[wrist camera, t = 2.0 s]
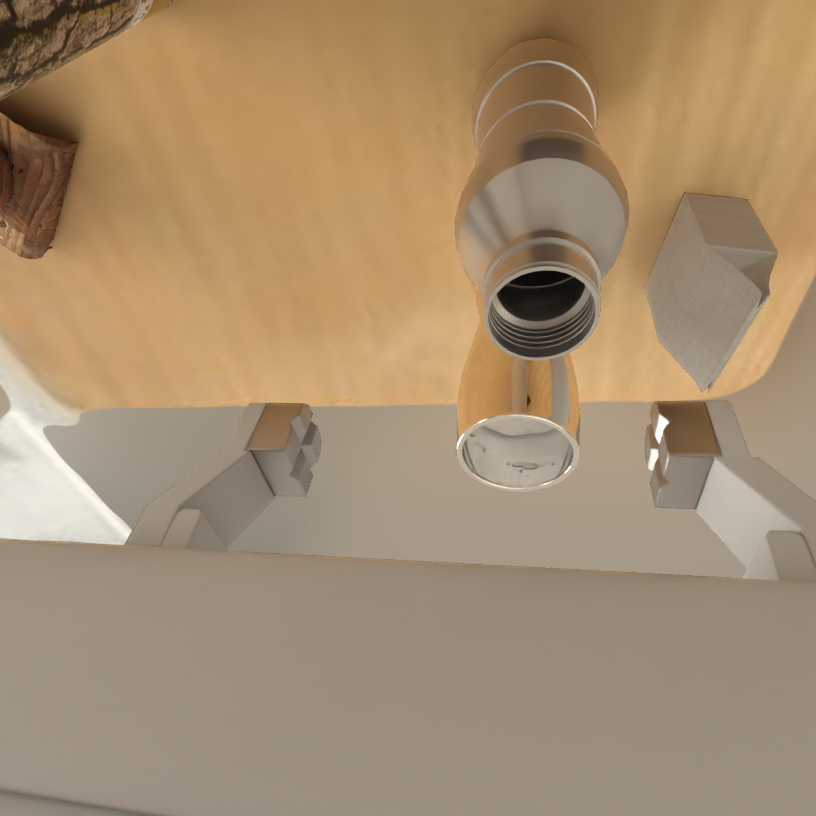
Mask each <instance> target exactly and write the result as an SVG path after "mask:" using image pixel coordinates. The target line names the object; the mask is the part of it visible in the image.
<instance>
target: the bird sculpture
mask: <svg viewBox="0 0 816 816" xmlns="http://www.w3.org/2000/svg"><path fill="white" fill-rule="evenodd" d="M78 144H79V142H72V141H63V140H59V139H55V138H51V137H48V136H44V135H40V134H36V133H33V132H30V131H27V130H25V129H24V128H23V127H22V126H21V125H17V124H15V123H13V122H12V121H11V119H9V118H8V117H6V116H5V115H4V114H2V113H0V209H1V210H0V236H1V237H2V239H1V237H0V244H1V245H2V246H5V247H6V248H8V249H9V250H11V251H12V252H14V253H16V254H17V255H18V256H20V257H24V258H27V259H36V258H40V257H42V256H43V255H44V253H45V252H46V251H47V250H48V249H50V248H52V246H51V247H49V245H50V243H51V242H52V240H54V239H52V238H53V235H52V234H53V233H55V231H56V229H55V226H57V224H58V223H57V221H56V220H57V218H58V216H57V214H58V213H59V212H60V208H61V207H62V206H63V205H62V204H61V203H62V202H63V198H64V195H65V191H66V187H67V186H66V184H67V182H68V179H69V177H70V173H69V172H70V167H72V165H71V163H73V158H74V156H75V153H73V152H74V151H76V149H77V146H78ZM5 148H6V149H7V150H8V153H7V154H8V156H9V158H8V157H7V156H6V152H5V151H4V149H5ZM71 157H72V158H71ZM11 163H12V164H14V167H13V170H12V166H11ZM21 169H22V170H23V171H21ZM13 177H14V179H13ZM65 182H66V183H65ZM12 192H13V194H14V195H15V196H13V195H12V198H13V199H11V194H12ZM62 195H63V197H62V198H61V196H62ZM6 203H8V204H9V207H7V206H4V205H5V204H6ZM1 223H3V224H4V226H3V225H2V224H1ZM5 229H6V232H5ZM9 234H10V235H11V236H10V235H9Z"/></svg>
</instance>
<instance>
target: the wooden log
mask: <svg viewBox="0 0 816 816" xmlns="http://www.w3.org/2000/svg"><path fill="white" fill-rule="evenodd" d="M172 1H173V0H0V101H1V100H3V99H4V98H6V97H8V96H10V95H12V94H13V93H15V92H17V91H19V90H21V89H22V88H24V87H26V86H28V85H29V84H31V83H33V82H35V81H37V80H38V79H40V78H42V77H44V76H46V75H47V74H49V73H51V72H53V71H54V70H56V69H58V68H60V67H62V66H63V65H65V64H67V63H69V62H71V61H72V60H74V59H76V58H78V57H79V56H81V55H83V54H85V53H87V52H88V51H90V50H92V49H94V48H96V47H97V46H99V45H101V44H103V43H104V42H106V41H108V40H110V39H112V38H113V37H115V36H117V35H119V34H121V33H122V32H124V31H126V30H128V29H129V28H131V27H133V26H135V25H136V24H138V23H139V22H141V21H142V20H144V19H146V18H148V17H150V16H151V15H153V14H155V13H157V12H159V11H160V10H162V9H164V8H165V7H167V6H168V5H169V4H170V3H171V2H172Z"/></svg>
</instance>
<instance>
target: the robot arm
mask: <svg viewBox="0 0 816 816" xmlns="http://www.w3.org/2000/svg"><path fill="white" fill-rule="evenodd" d="M312 415H313V413H312V411H311V409H310V407H309V405H308V404H303V403H250V404H249V405H248V406H247V407H246V409H245V411H244V413H243V415H242V417H241V419H240V421H239V423H238V425H237V427H236V429H235V432H234V434H233V436H232V438H231V440H230V442H229V444H228V446H227V448H226V450H220V451H218V452H217V453H216V454H215V455H213V456H212V457H210V458H209V459H208V460H207V461H205V462H204V463H203V464H201V465H200V466H198V467H197V468H196V469H194V470H193V471H192V472H190V473H189V474H188V475H186V476H185V477H184V478H182V479H181V480H180V481H178V482H177V483H176V484H174V485H173V486H172V487H170V488H169V489H168V490H166V491H165V492H164V493H162V494H161V495H160V496H158V497H157V498H156V499H154V500H153V501H152V502H150V503H149V504H148V505H146V507H145V509H144V511H143V512H142V514H141V516H140V518H139V519H138V521H137V523H136V525H135V527H134V528H133V530H132V532H131V534H130V535H129V537H128V539H127V541H126V543H125V544H124V545H111V544H92V543H73V542H54V541H35V540H19V539H6V538H0V816H816V501H815V500H814V499H812V498H811V497H810V496H808V495H807V494H806V493H805V492H803V491H802V490H801V489H799V488H798V487H797V486H795V485H794V484H793V483H792V482H790V481H789V480H788V479H786V478H785V477H784V476H782V475H781V474H780V473H778V472H777V471H776V470H774V469H773V468H772V467H771V466H769V465H768V464H767V463H765V462H764V461H763V460H761V459H760V458H759V457H751V456H750V453H749V451H748V448H747V445H746V442H745V440H744V437H743V434H742V431H741V429H740V426H739V423H738V420H737V418H736V415H735V412H734V410H733V407H732V404H731V403H730V402H729V401H728V400H706V401H654V402H653V404H652V406H651V411H650V417H651V422H652V424H650V425H649V426H648V427H647V430H646V436H645V458H646V464H647V468H649V469H650V470H651V471H652V472H653V473H652V477H651V481H650V485H651V490H652V495H653V500H654V505H655V507H660V508H678V509H696V512H697V513H698V515H699V516H700V517H701V518H702V519H703V520H704V521H705V522H706V523H707V525H708V526H709V527H710V528H711V529H712V530H713V531H714V532H715V533H716V535H717V536H718V537H719V538H720V539H721V540H722V541H723V542H724V543H725V544H726V546H727V547H728V548H729V549H730V550H731V551H732V552H733V553H734V554H735V556H736V557H737V558H738V559H739V560H740V561H741V562H742V563H743V564H744V566H745V567H746V568H747V571H746V572H745V575H744V576H743V578H728V577H709V576H691V575H673V574H653V573H636V572H635V573H634V572H616V571H598V570H578V569H577V570H576V569H559V568H541V567H521V566H502V565H484V564H482V565H481V564H465V563H447V562H446V563H445V562H427V561H410V560H409V561H408V560H391V559H372V558H354V557H336V556H335V557H334V556H316V555H297V554H279V553H259V552H242V551H229V550H228V549H227V548H228V547H229V546H230V545H231V544H232V543H233V542H234V541H235V540H236V539H237V537H238V536H239V535H240V534H241V533H242V532H243V531H244V530H245V529H246V528H247V527H248V526H249V525H250V524H251V523H252V522H253V521H254V520H255V519H256V518H257V517H258V515H260V513H261V512H262V511H263V510H264V509H265V508H266V507H267V506H268V505H269V504H270V503H271V502H272V501H273V500H274V499H275V496H306V495H307V492H308V489H309V486H310V483H311V480H312V477H313V474H312V472H311V470H310V468H311V467H312V466H313V465H314V464H315V463H317V462H318V459H319V455H320V451H321V450H320V449H321V437H320V432H319V429H318V426H316V425H315V424H314V423H313V422H311V421H310V420H311V417H312Z"/></svg>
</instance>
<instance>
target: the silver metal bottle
mask: <svg viewBox="0 0 816 816" xmlns="http://www.w3.org/2000/svg"><path fill="white" fill-rule="evenodd" d="M598 111H599V91H598V85H597V80H596V78H595V75H594V73H593V70H592V68H591V67H590V65H589V64H588V62H587V61H586V59H585V58H584V57H583V56H582V55H581V54H579V53H578V52H577V51H576V50H575V49H573V48H572V47H570V46H568V45H566V44H564V43H563V42H561V41H557V40H553V39H549V38H541V39H532V40H528V41H524V42H522V43H520V44H518V45H515V46H513V47H512V48H510V49H509V50H508V51H506V52H505V53H504V54H502V55H501V56H500V57H499V58H498V59H497V60H496V62H495V63H494V64H493V65H492V66H491V67H490V68H489V70H488V71H487V73H486V74H485V76H484V77H483V79H482V80H481V82H480V85H479V87H478V89H477V92H476V94H475V98H474V102H473V106H472V120H471V121H472V129H473V136H474V142H475V145H476V148H477V151H478V158H477V162H476V166H475V168H474V170H473V172H472V174H471V176H470V178H469V180H468V182H467V184H466V186H465V188H464V190H463V192H462V195H461V199H460V202H459V205H458V209H457V213H456V217H455V232H454V235H455V241H456V247H457V251H458V254H459V256H460V259H461V261H462V264H463V266H464V268H465V271H466V273H467V274H468V276H469V277H470V279H471V280H472V282H473V283H474V284H475V285H476V286H477V287H478V288H479V289H480V290H481V291H482V296H483V303H484V311H483V317H484V324H485V328H486V331H487V333H488V336H489V337H490V339H491V340H492V341H493V343H494V344H495V345H496V346H497V347H498V348H500V349H501V350H502V351H504V352H506V353H507V354H509V355H511V356H514V357H517V358H520V359H525V360H535V361H540V360H550V359H554V358H558V357H561V356H563V355H566V354H568V353H570V352H572V351H574V350H575V349H577V348H578V347H580V346H581V345H582V344H583V343H584V342H586V341H587V339H588V338H589V337H590V336H591V334H592V333H593V332H594V330H595V328H596V326H597V324H598V320H599V317H600V311H601V299H600V290H601V280H602V279H603V278H604V277H605V275H606V274H607V273H608V271H609V270H610V269H611V267H612V266H613V264H614V263H615V261H616V259H617V257H618V255H619V253H620V250H621V247H622V244H623V241H624V238H625V234H626V231H627V227H628V221H629V202H628V196H627V191H626V188H625V186H624V183H623V181H622V179H621V176H620V174H619V172H618V170H617V168H616V166H615V165H614V163H613V162H612V161H611V159H610V158H609V157H608V155H607V154H606V153H605V151H604V150H603V149H602V147H601V146H600V145H599V142H598V140H597V138H596V135H595V129H596V124H597V119H598Z"/></svg>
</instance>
